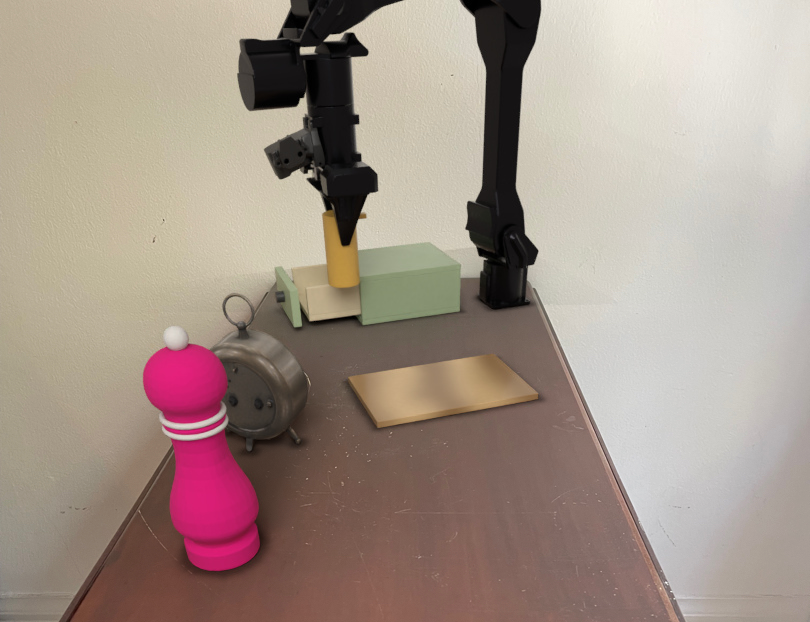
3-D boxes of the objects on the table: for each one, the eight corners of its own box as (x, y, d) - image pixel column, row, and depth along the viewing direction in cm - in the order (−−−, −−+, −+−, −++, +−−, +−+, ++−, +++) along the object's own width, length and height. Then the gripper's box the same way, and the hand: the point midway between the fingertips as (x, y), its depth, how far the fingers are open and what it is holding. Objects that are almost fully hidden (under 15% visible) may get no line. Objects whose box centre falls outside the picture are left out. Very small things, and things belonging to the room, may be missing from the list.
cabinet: (362, 325, 104) (359, 276, 100) (340, 297, 114) (336, 252, 110) (459, 311, 108) (461, 264, 104) (429, 285, 118) (429, 241, 114)
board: (493, 358, 93) (493, 353, 92) (538, 399, 83) (538, 393, 83) (348, 382, 88) (347, 376, 88) (377, 428, 78) (377, 421, 78)
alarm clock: (315, 438, 77) (298, 289, 67) (294, 462, 73) (272, 307, 63) (229, 424, 80) (200, 280, 70) (203, 447, 76) (169, 297, 66)
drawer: (286, 328, 101) (281, 291, 98) (271, 302, 111) (266, 267, 108) (388, 314, 105) (387, 278, 102) (366, 289, 114) (364, 256, 111)
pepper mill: (247, 580, 58) (198, 348, 46) (167, 570, 59) (99, 342, 47) (277, 529, 63) (240, 311, 51) (203, 521, 65) (150, 306, 53)
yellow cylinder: (365, 275, 99) (361, 206, 94) (373, 284, 96) (369, 213, 90) (325, 280, 98) (318, 211, 92) (332, 289, 95) (325, 218, 89)
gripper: (253, 101, 89) (270, 231, 99) (276, 117, 75) (294, 267, 84) (338, 96, 92) (347, 223, 101) (375, 110, 77) (382, 256, 87)
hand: (341, 241), depth 93 cm, fingers closed on yellow cylinder, 4 cm apart
